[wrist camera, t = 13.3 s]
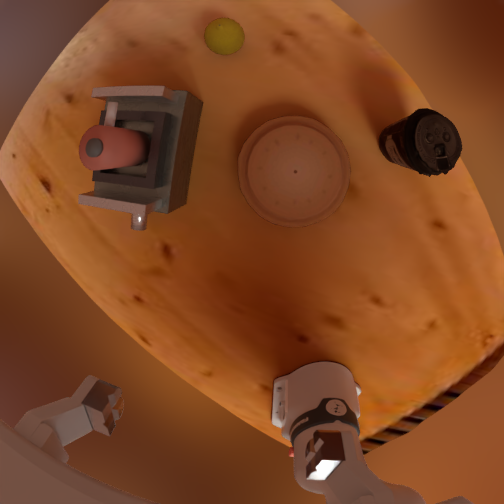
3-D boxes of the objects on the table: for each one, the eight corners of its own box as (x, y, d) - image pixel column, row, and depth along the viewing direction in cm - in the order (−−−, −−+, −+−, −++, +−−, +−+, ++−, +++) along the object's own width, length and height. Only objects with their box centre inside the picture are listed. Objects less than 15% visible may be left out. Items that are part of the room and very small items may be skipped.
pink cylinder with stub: (148, 167, 34) (108, 172, 25) (117, 164, 34) (73, 169, 25) (157, 111, 31) (119, 98, 22) (125, 110, 31) (83, 100, 22)
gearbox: (183, 228, 44) (149, 255, 32) (118, 216, 44) (72, 236, 32) (203, 102, 38) (174, 81, 26) (133, 99, 38) (88, 84, 26)
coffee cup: (406, 182, 39) (450, 193, 27) (363, 155, 38) (398, 154, 26) (426, 136, 36) (473, 133, 24) (384, 108, 36) (424, 92, 23)
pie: (314, 102, 37) (319, 95, 32) (360, 194, 40) (371, 199, 36) (221, 149, 40) (214, 147, 35) (271, 238, 44) (270, 248, 39)
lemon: (231, 67, 36) (222, 48, 28) (204, 51, 35) (189, 31, 27) (254, 42, 34) (249, 20, 27) (226, 27, 33) (216, 4, 26)
